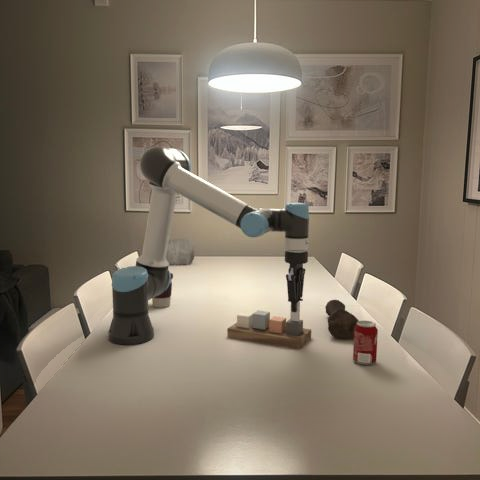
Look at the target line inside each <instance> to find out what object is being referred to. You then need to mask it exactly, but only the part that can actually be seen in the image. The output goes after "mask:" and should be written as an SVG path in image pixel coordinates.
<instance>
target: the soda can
mask: <svg viewBox="0 0 480 480" xmlns="http://www.w3.org/2000/svg"><path fill="white" fill-rule="evenodd" d="M376 325H377V324H376V323H375V322H374V321H372V320H371V321H370V320H359V321H358V322H357V325H356V326H355V328H354V339H353V348H352V350H353V353H352V354H353V355H352V360H353V361H354V362H355V363H356V364H358V365H361V366H371V365H374V364H376V363H377V357H378V356H377V354H378V353H377V352H378V333H379V331H378V328H377V326H376Z"/></svg>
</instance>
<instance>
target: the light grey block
mask: <svg viewBox="0 0 480 480" xmlns="http://www.w3.org/2000/svg"><path fill="white" fill-rule="evenodd" d="M252 313H253V312H252ZM270 319H271V312H270V311H264V310H257V311H255V312H254V313H253V328H257V329H263V330H265V329H266V328H268V327H269V320H270Z"/></svg>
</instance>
